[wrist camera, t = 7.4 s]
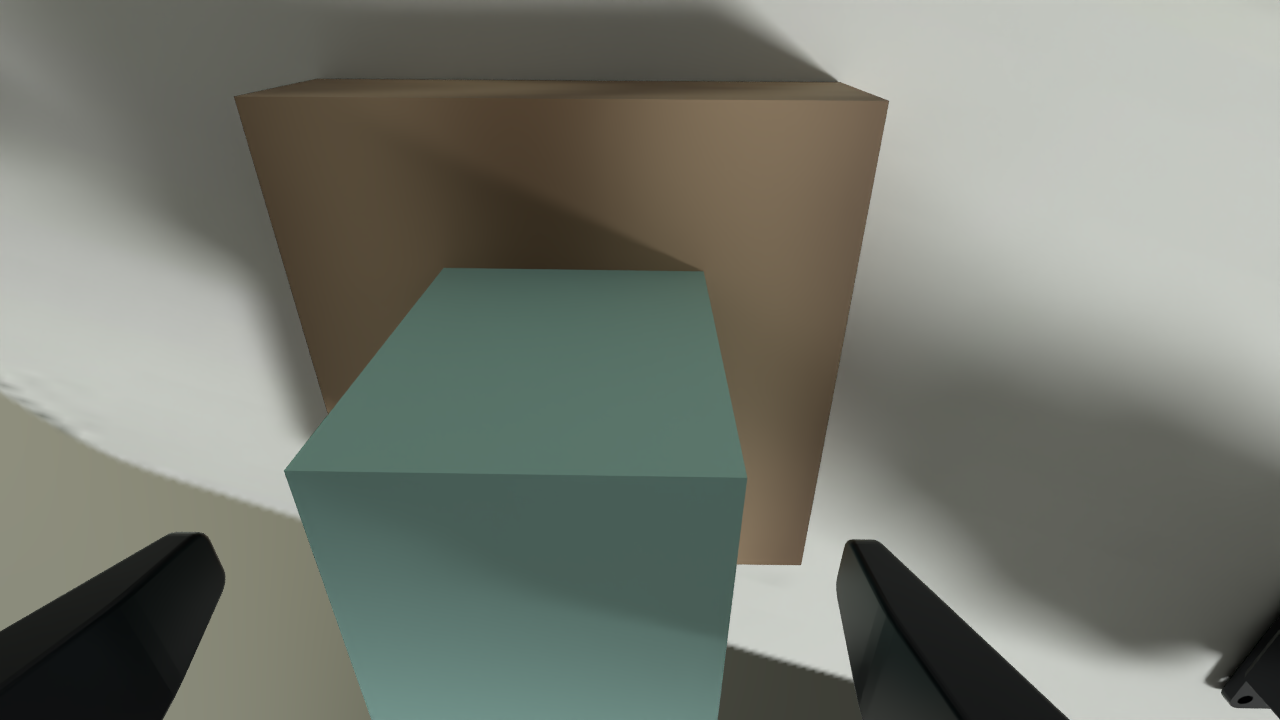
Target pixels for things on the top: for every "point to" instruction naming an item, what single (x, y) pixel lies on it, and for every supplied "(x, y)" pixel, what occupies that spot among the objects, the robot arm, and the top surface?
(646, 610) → the teal block
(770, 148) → the walnut base
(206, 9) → the top surface
